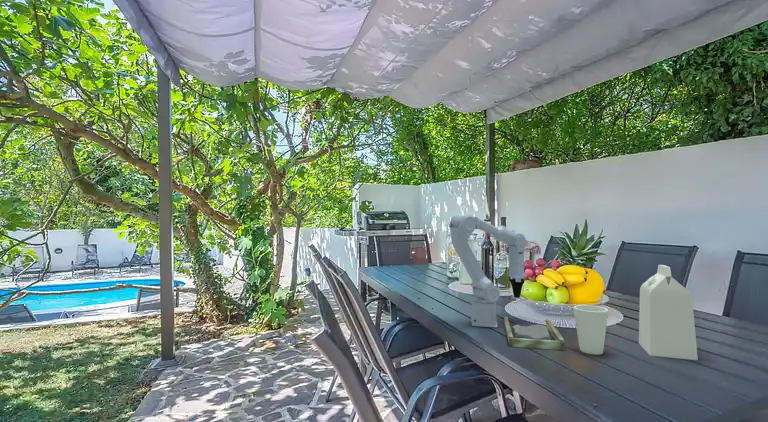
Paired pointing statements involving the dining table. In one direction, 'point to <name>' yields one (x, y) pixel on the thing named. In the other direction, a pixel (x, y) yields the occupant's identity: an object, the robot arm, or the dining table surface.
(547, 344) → the channel
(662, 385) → the dining table surface
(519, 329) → the stone block
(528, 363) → the dining table surface
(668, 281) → the milk
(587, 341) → the foam cup
